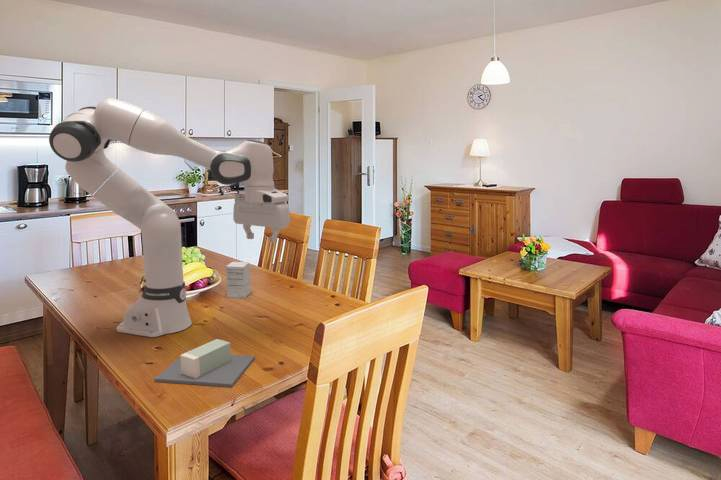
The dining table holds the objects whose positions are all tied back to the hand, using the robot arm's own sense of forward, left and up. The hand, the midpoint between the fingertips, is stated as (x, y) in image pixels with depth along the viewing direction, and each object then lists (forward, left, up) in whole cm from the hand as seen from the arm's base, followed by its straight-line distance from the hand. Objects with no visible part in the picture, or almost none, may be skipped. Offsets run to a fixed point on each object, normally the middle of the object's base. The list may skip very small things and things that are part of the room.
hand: (261, 240), depth 144 cm
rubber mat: (-6, -28, -29) cm, 41 cm away
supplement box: (-22, +34, -29) cm, 50 cm away
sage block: (-4, -23, -26) cm, 35 cm away
